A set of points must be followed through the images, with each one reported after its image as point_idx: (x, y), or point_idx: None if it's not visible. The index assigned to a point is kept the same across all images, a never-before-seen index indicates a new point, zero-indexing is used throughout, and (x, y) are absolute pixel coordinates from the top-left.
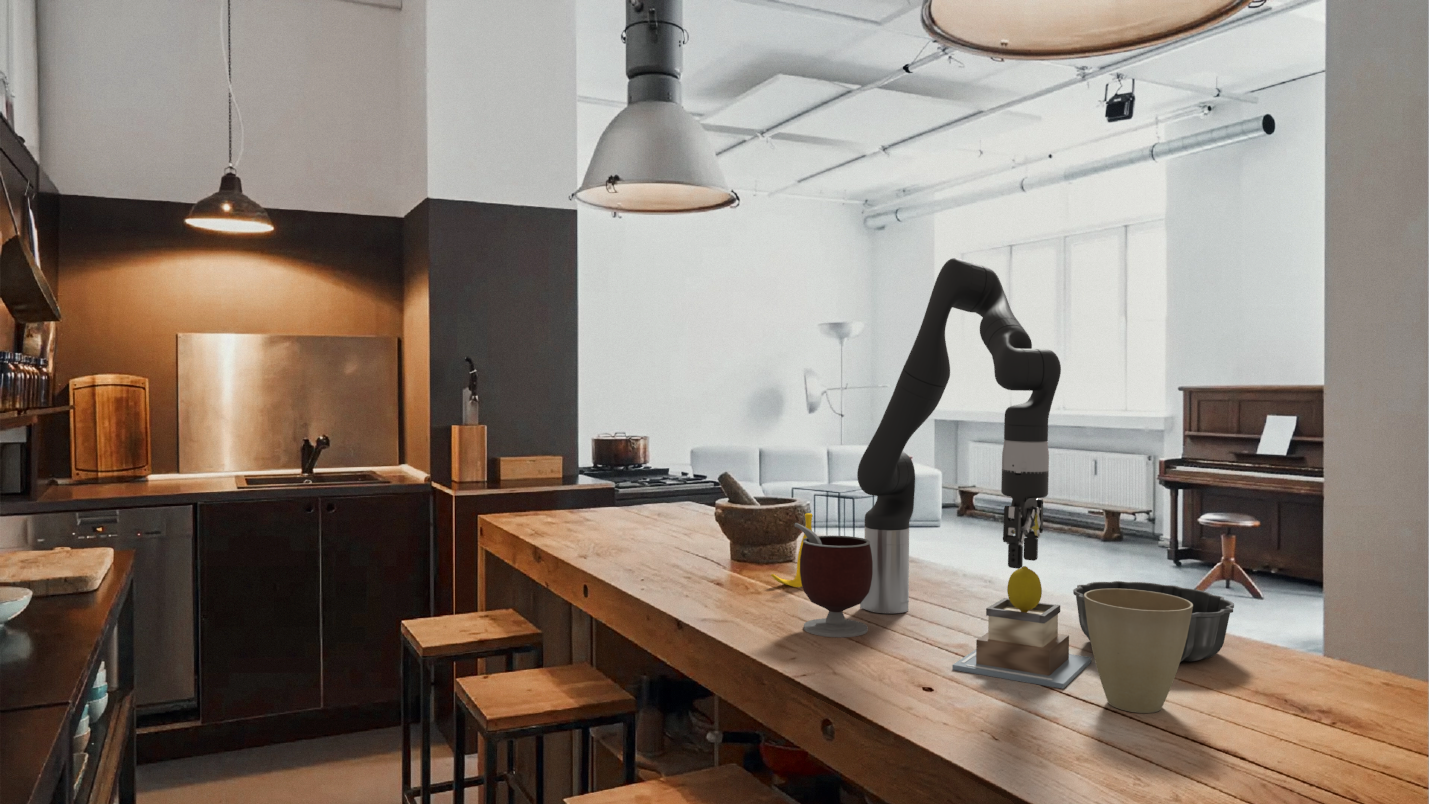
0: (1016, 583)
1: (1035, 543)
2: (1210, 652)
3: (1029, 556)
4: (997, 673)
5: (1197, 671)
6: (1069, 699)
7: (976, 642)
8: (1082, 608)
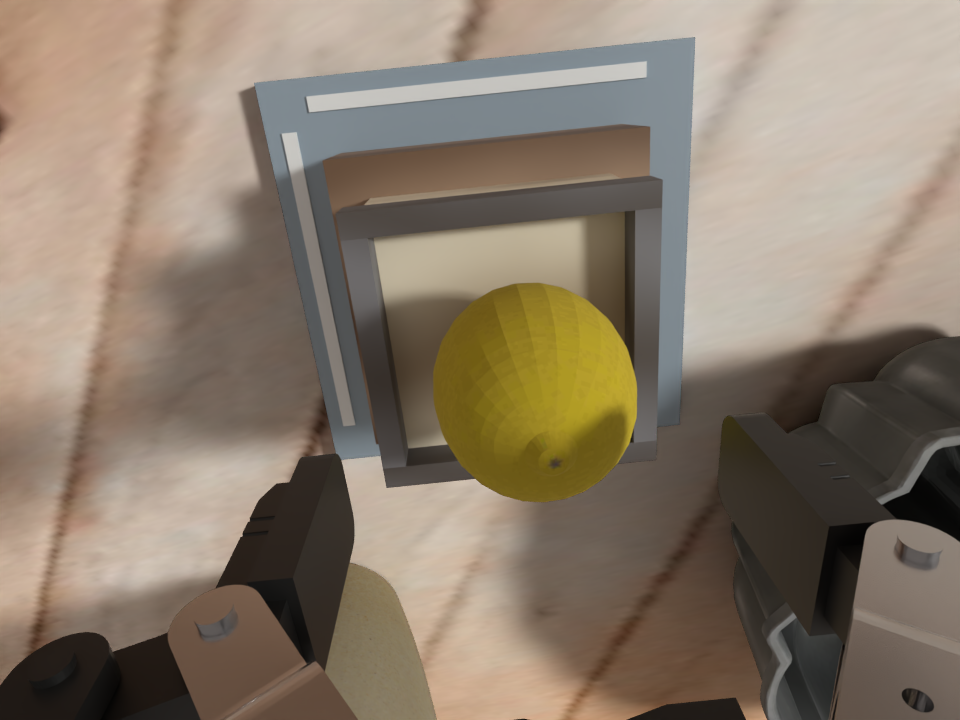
0: (437, 398)
1: (790, 591)
2: None
3: (734, 466)
4: (296, 264)
5: (735, 628)
6: (262, 493)
7: (325, 159)
8: (895, 425)
